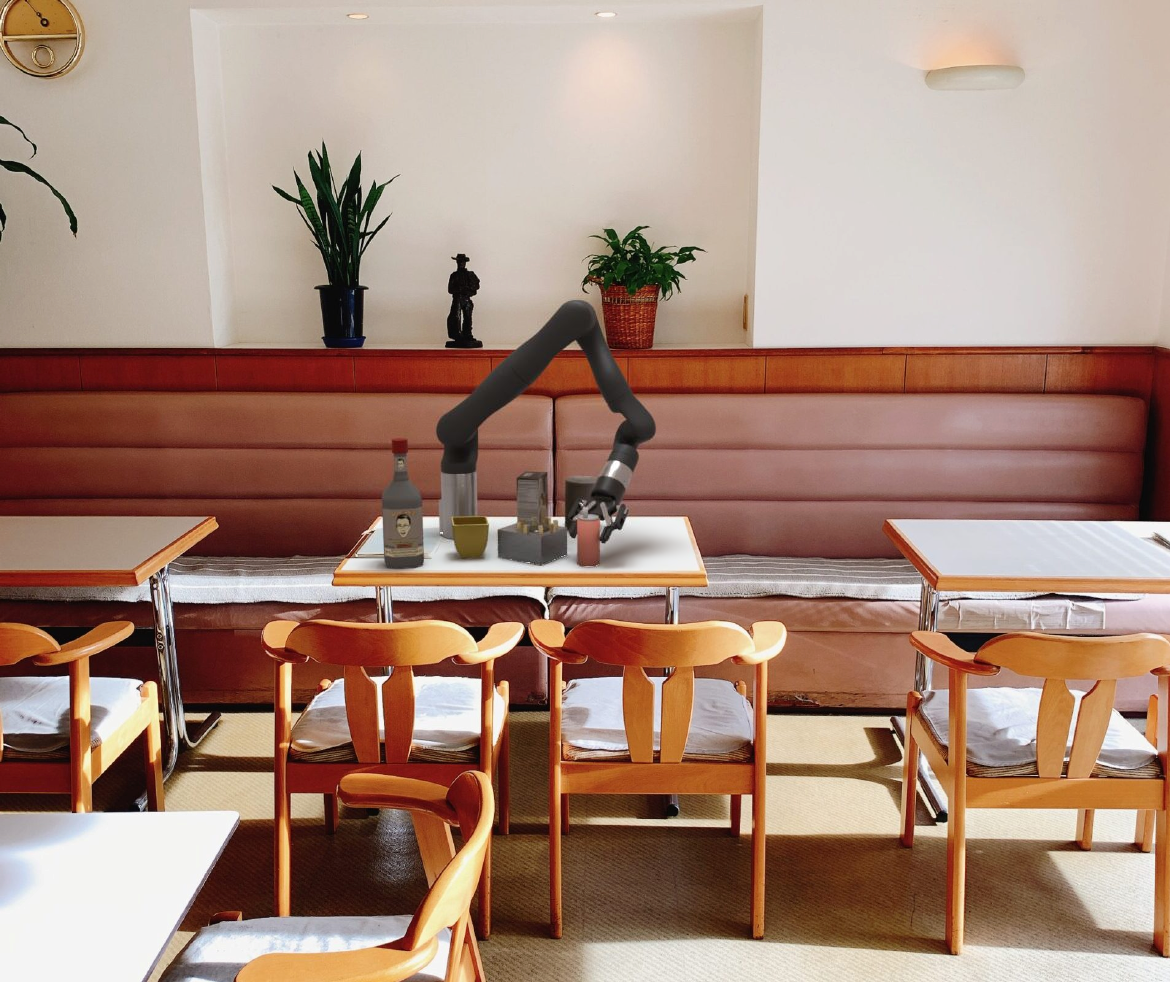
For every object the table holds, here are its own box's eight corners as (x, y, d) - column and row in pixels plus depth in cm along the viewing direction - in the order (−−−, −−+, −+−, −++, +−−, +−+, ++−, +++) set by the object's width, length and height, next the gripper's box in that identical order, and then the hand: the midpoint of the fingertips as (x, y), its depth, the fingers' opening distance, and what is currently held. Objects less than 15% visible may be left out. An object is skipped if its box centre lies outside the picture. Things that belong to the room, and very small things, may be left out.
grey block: (488, 555, 256) (487, 519, 254) (515, 545, 265) (514, 511, 263) (541, 565, 248) (541, 528, 246) (567, 555, 257) (567, 519, 255)
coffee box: (525, 528, 282) (525, 470, 279) (548, 530, 281) (548, 471, 278) (516, 537, 274) (515, 477, 270) (540, 538, 272) (539, 478, 269)
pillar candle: (562, 532, 279) (562, 477, 275) (567, 523, 288) (567, 470, 285) (598, 533, 278) (599, 478, 274) (602, 524, 287) (603, 471, 284)
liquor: (383, 559, 253) (378, 437, 246) (421, 557, 255) (417, 435, 248) (385, 569, 244) (380, 443, 238) (424, 567, 246) (420, 441, 240)
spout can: (572, 564, 248) (572, 507, 246) (585, 559, 253) (585, 503, 250) (591, 568, 246) (592, 510, 243) (604, 562, 250) (604, 505, 247)
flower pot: (487, 550, 261) (486, 515, 259) (490, 559, 253) (489, 523, 251) (451, 552, 260) (450, 516, 258) (453, 561, 251) (452, 525, 249)
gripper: (581, 471, 255) (555, 526, 248) (632, 477, 248) (606, 534, 241) (593, 489, 261) (568, 543, 254) (642, 495, 253) (618, 551, 246)
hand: (586, 539), depth 247 cm, fingers open, 8 cm apart
